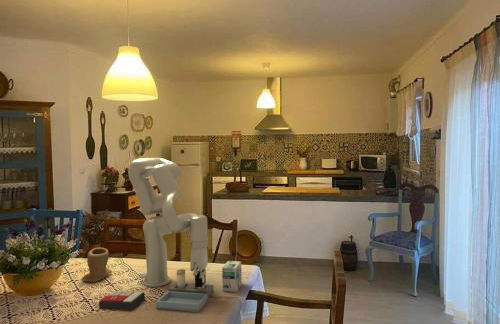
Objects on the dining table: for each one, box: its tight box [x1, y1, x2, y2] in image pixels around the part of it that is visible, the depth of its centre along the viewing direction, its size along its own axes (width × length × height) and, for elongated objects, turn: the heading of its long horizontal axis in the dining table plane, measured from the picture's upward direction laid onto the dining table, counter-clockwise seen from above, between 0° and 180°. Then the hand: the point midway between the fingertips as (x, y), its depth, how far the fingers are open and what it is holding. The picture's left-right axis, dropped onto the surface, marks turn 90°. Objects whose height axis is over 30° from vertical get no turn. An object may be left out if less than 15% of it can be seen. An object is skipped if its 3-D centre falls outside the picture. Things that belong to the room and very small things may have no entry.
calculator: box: [98, 290, 146, 311], centre depth 164 cm, size 11×4×15 cm
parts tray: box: [155, 290, 209, 313], centre depth 161 cm, size 18×11×3 cm, turn 77°
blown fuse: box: [196, 270, 206, 290], centre depth 172 cm, size 4×4×10 cm
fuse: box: [176, 268, 186, 288], centre depth 174 cm, size 4×4×10 cm
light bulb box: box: [221, 260, 243, 293], centre depth 179 cm, size 11×7×11 cm, turn 168°
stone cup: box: [81, 247, 113, 282], centre depth 195 cm, size 15×12×15 cm
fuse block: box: [167, 281, 214, 298], centre depth 173 cm, size 18×8×3 cm, turn 77°
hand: (200, 284), depth 172 cm, fingers closed on blown fuse, 3 cm apart
